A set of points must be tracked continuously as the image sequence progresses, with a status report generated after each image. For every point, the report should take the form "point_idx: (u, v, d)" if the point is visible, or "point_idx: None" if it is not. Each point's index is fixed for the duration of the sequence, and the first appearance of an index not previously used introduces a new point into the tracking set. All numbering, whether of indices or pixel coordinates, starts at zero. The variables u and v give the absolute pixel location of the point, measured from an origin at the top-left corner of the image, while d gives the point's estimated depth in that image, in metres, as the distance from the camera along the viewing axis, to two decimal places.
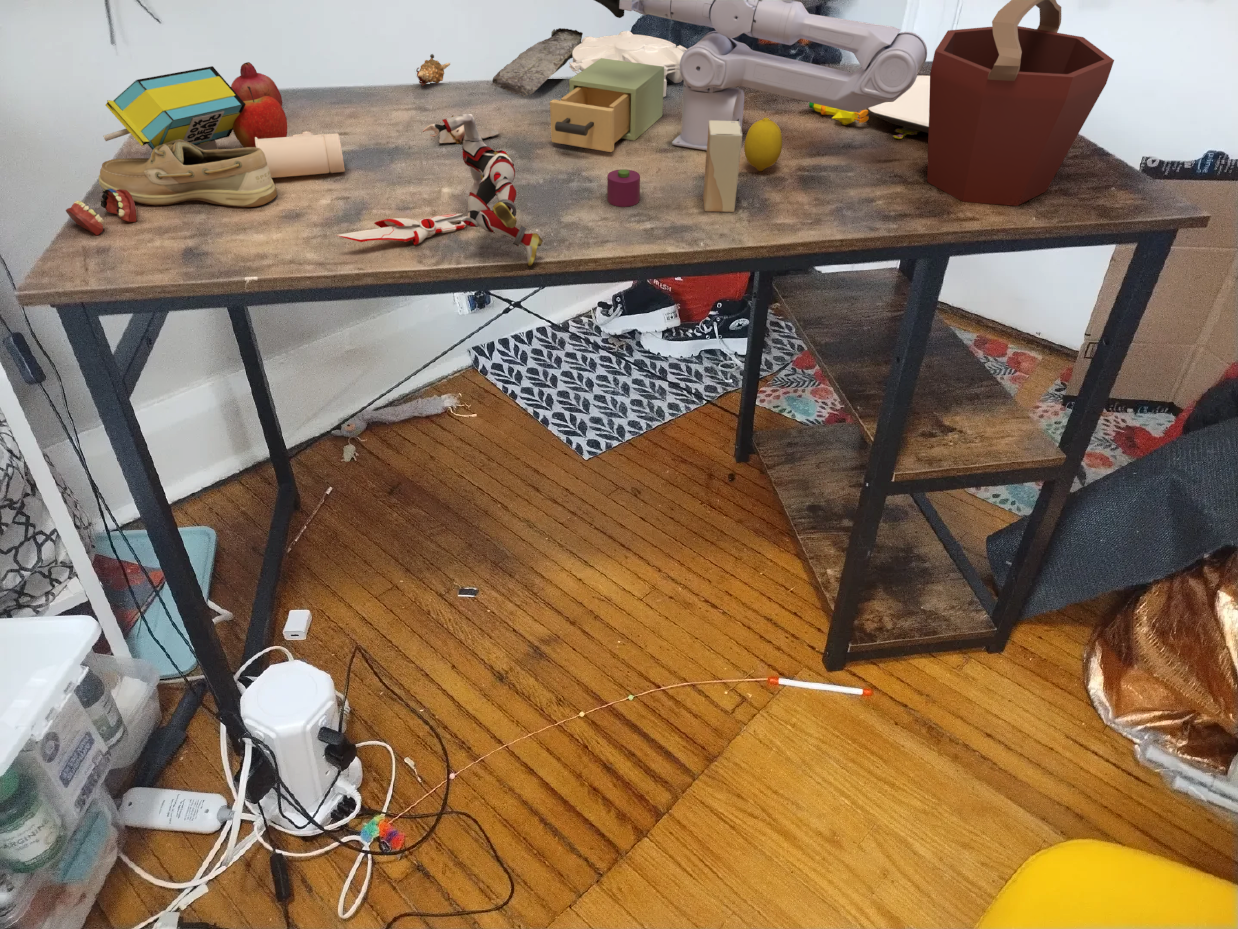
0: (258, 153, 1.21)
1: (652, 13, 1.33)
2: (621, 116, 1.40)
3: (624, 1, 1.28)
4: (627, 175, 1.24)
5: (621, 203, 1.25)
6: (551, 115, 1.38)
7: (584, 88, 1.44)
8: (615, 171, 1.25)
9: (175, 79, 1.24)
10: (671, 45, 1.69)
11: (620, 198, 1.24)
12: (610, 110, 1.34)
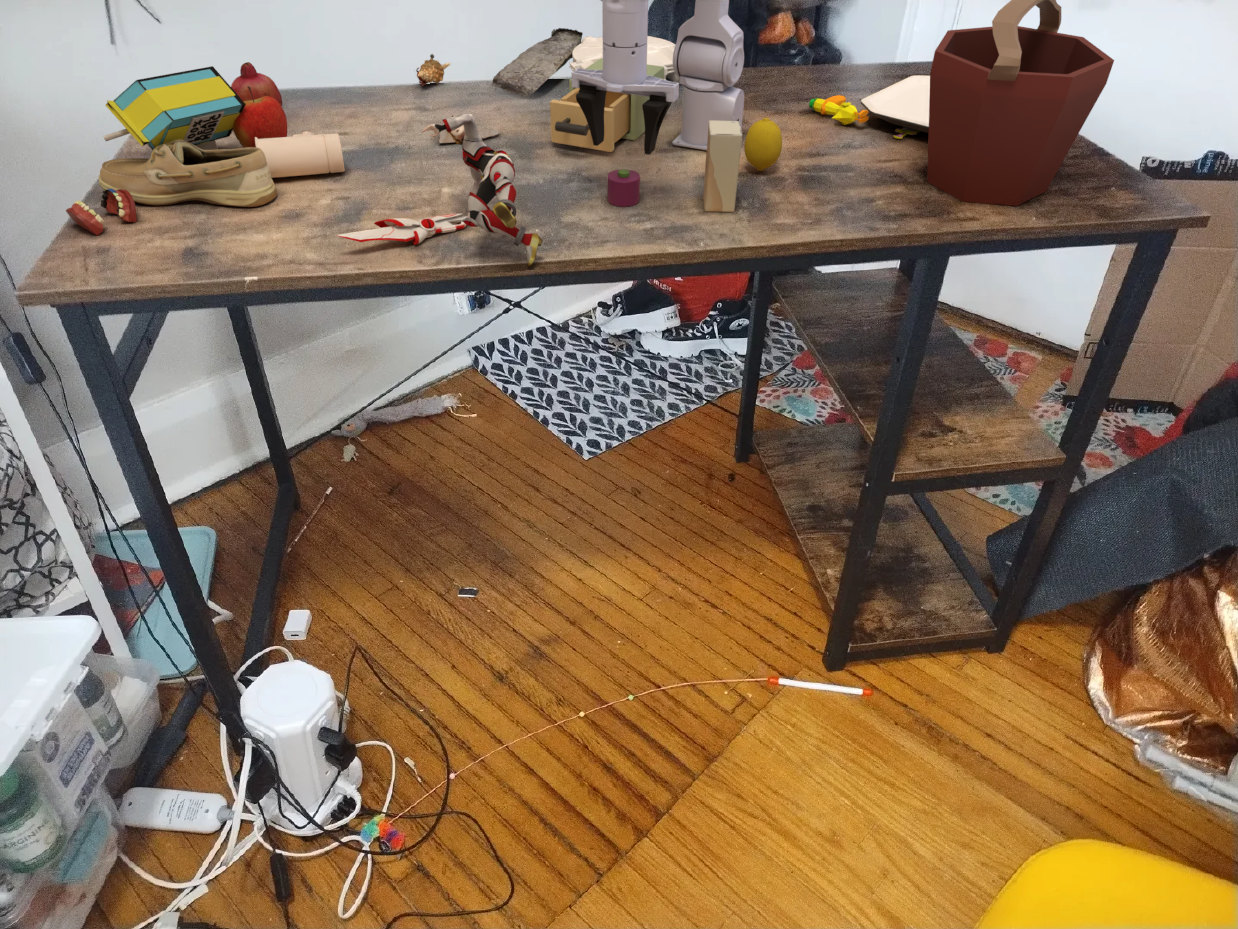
0: (258, 153, 1.21)
1: None
2: (621, 116, 1.40)
3: (676, 94, 1.14)
4: (627, 175, 1.24)
5: (621, 203, 1.25)
6: (551, 115, 1.38)
7: None
8: (615, 171, 1.25)
9: (175, 79, 1.24)
10: (671, 45, 1.69)
11: (620, 198, 1.24)
12: (610, 110, 1.34)
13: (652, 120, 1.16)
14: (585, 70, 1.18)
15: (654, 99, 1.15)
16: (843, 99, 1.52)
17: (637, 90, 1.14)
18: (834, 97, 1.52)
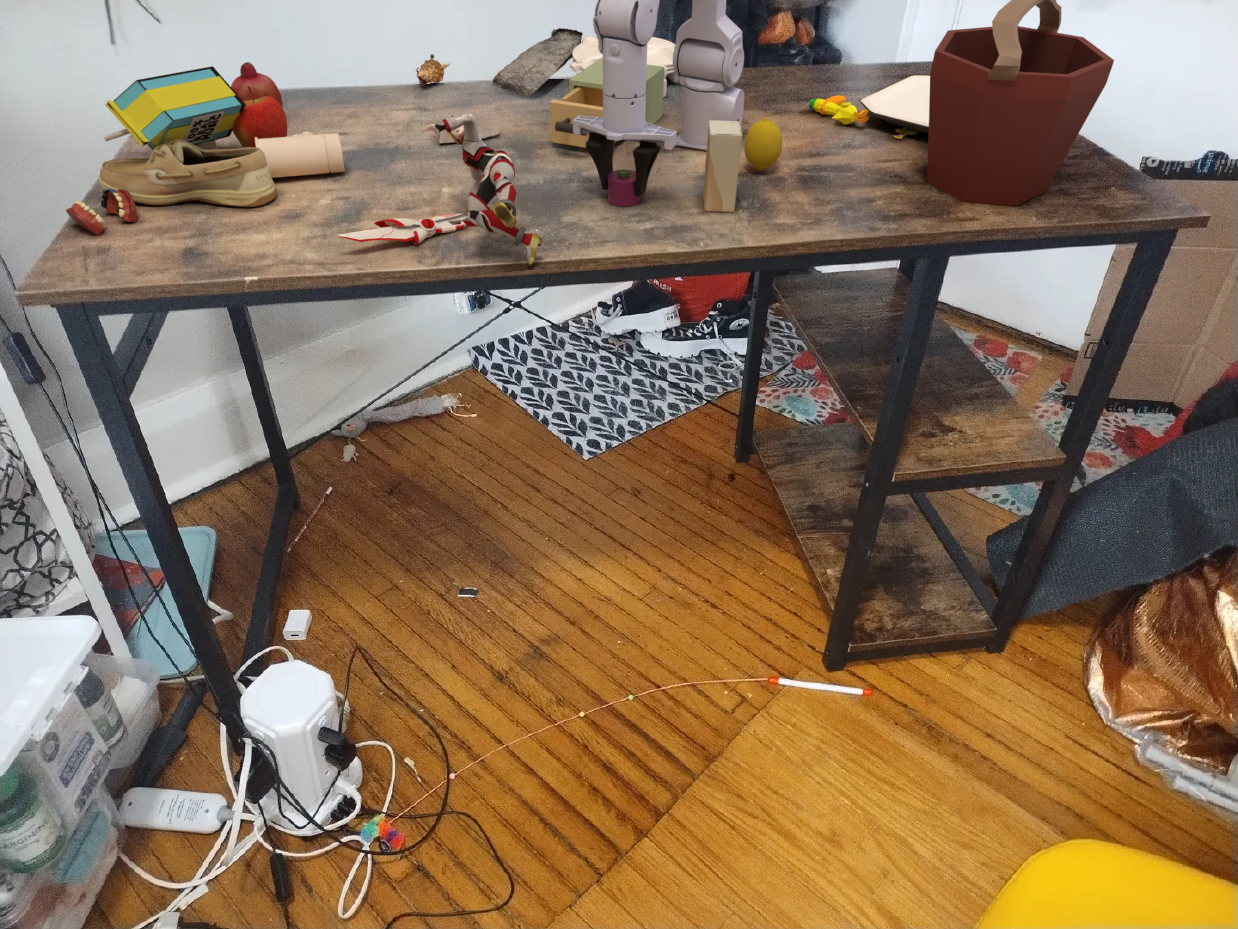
0: (258, 153, 1.21)
1: None
2: None
3: (673, 141, 1.18)
4: (627, 175, 1.24)
5: (621, 203, 1.25)
6: (551, 115, 1.38)
7: (584, 88, 1.44)
8: (616, 171, 1.25)
9: (175, 79, 1.24)
10: (671, 45, 1.69)
11: (620, 198, 1.24)
12: None
13: (642, 165, 1.20)
14: (586, 117, 1.22)
15: (644, 145, 1.19)
16: (843, 99, 1.52)
17: (636, 138, 1.18)
18: (834, 97, 1.52)
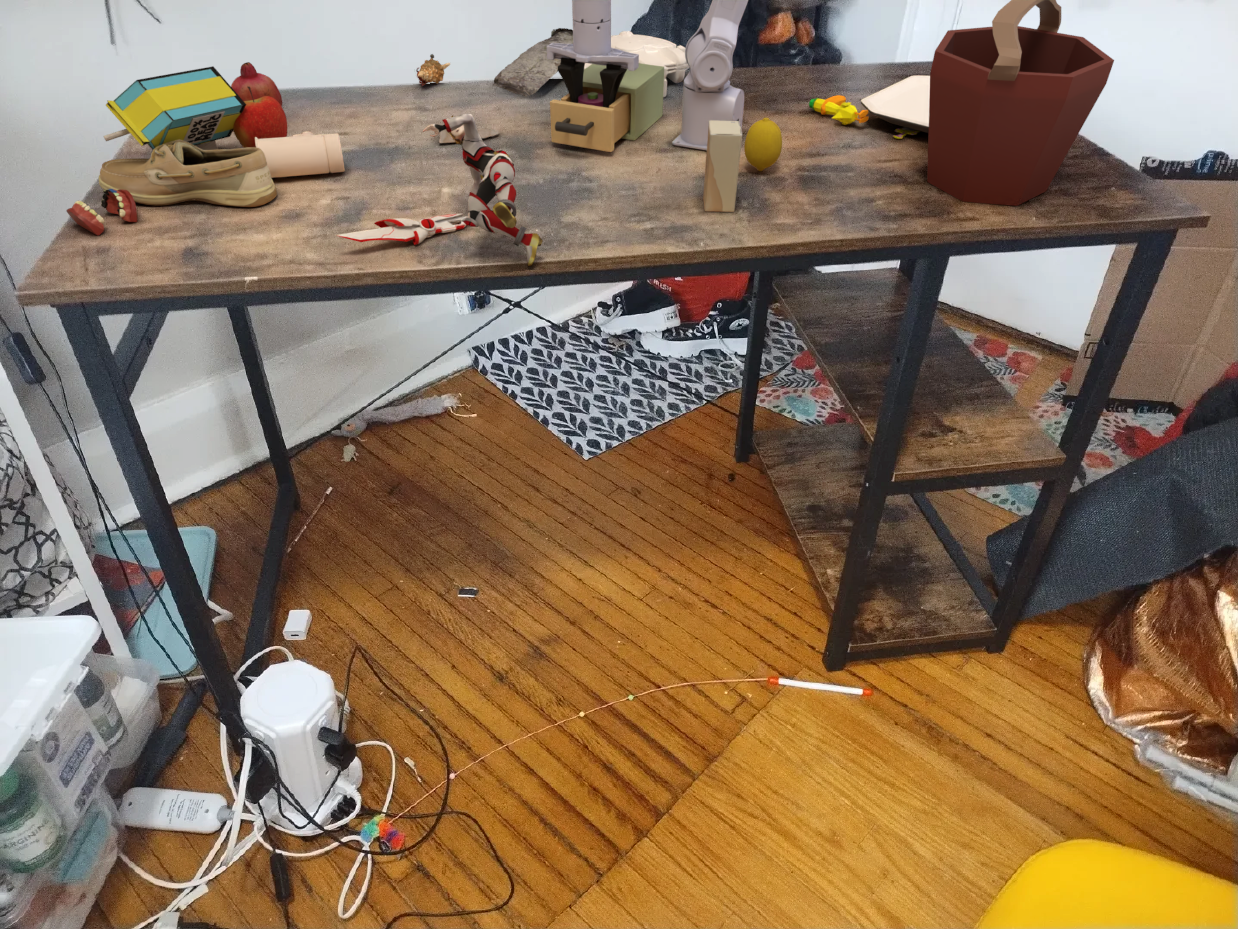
0: (258, 153, 1.21)
1: None
2: (621, 116, 1.40)
3: (636, 63, 1.33)
4: (596, 97, 1.38)
5: None
6: (551, 115, 1.38)
7: (584, 88, 1.44)
8: (586, 94, 1.40)
9: (175, 79, 1.24)
10: (671, 45, 1.69)
11: None
12: (610, 110, 1.34)
13: (609, 85, 1.34)
14: (558, 44, 1.37)
15: (610, 67, 1.34)
16: (843, 99, 1.52)
17: (602, 60, 1.32)
18: (834, 97, 1.52)
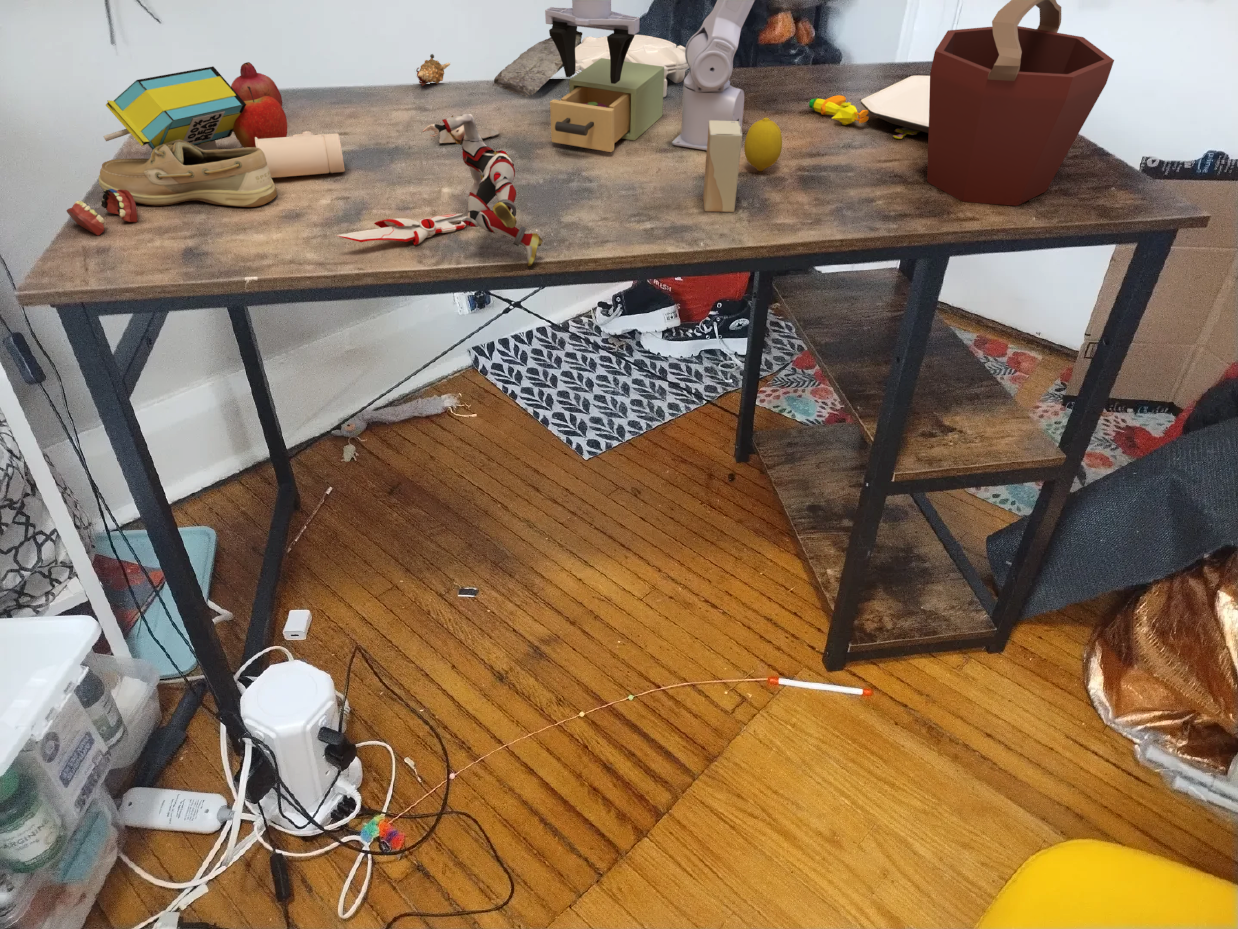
0: (258, 153, 1.21)
1: None
2: (621, 116, 1.40)
3: (636, 27, 1.29)
4: None
5: None
6: (551, 115, 1.38)
7: (584, 88, 1.44)
8: (586, 104, 1.41)
9: (175, 79, 1.24)
10: (671, 45, 1.69)
11: None
12: (610, 110, 1.34)
13: (616, 51, 1.31)
14: (557, 8, 1.33)
15: (618, 32, 1.30)
16: (843, 99, 1.52)
17: (602, 24, 1.29)
18: (834, 97, 1.52)
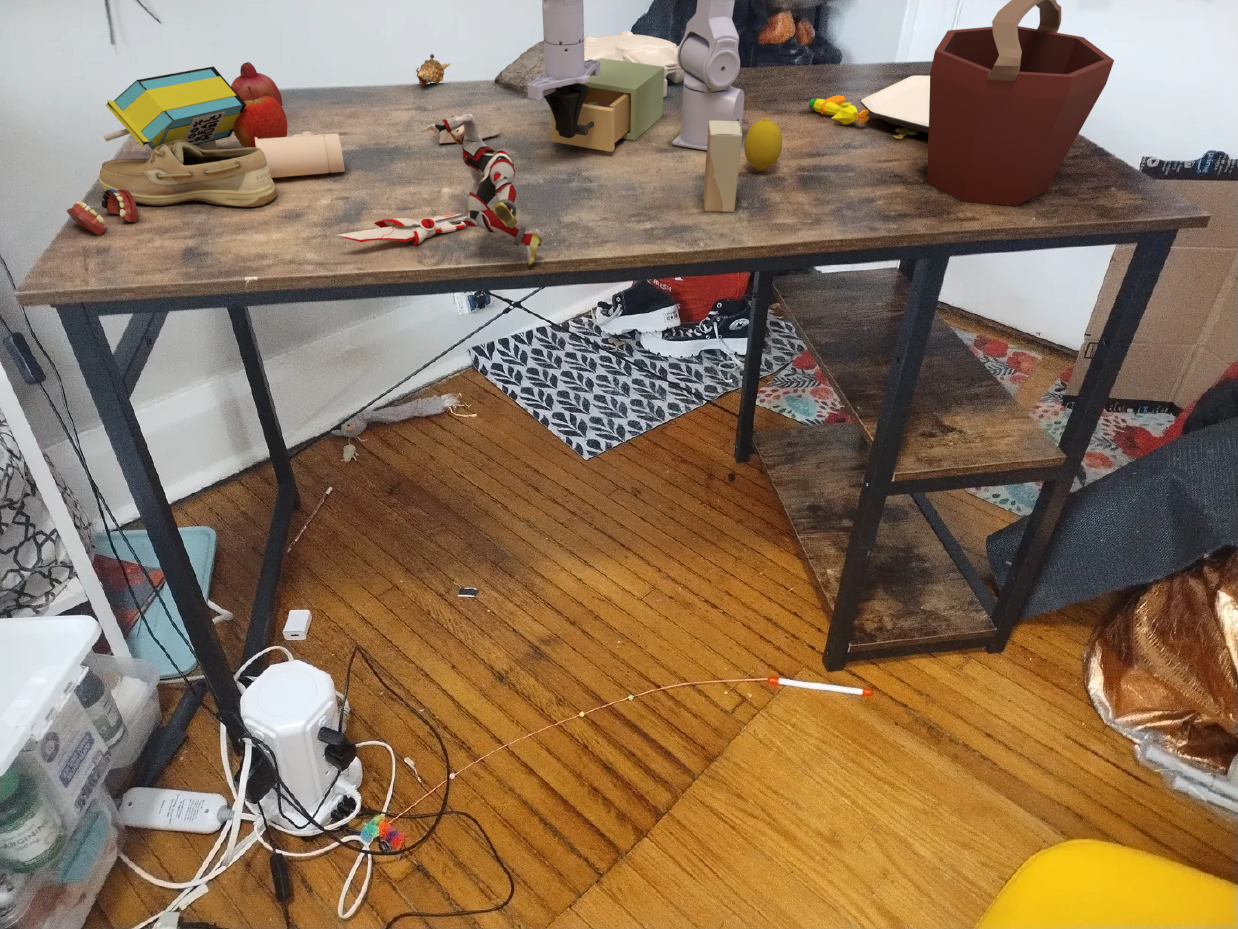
0: (258, 153, 1.21)
1: None
2: (622, 116, 1.40)
3: None
4: None
5: None
6: (551, 115, 1.38)
7: None
8: None
9: (175, 79, 1.24)
10: (672, 45, 1.69)
11: None
12: (610, 110, 1.34)
13: (582, 102, 1.31)
14: (533, 82, 1.25)
15: (575, 85, 1.29)
16: (843, 99, 1.52)
17: (588, 74, 1.29)
18: (834, 97, 1.52)
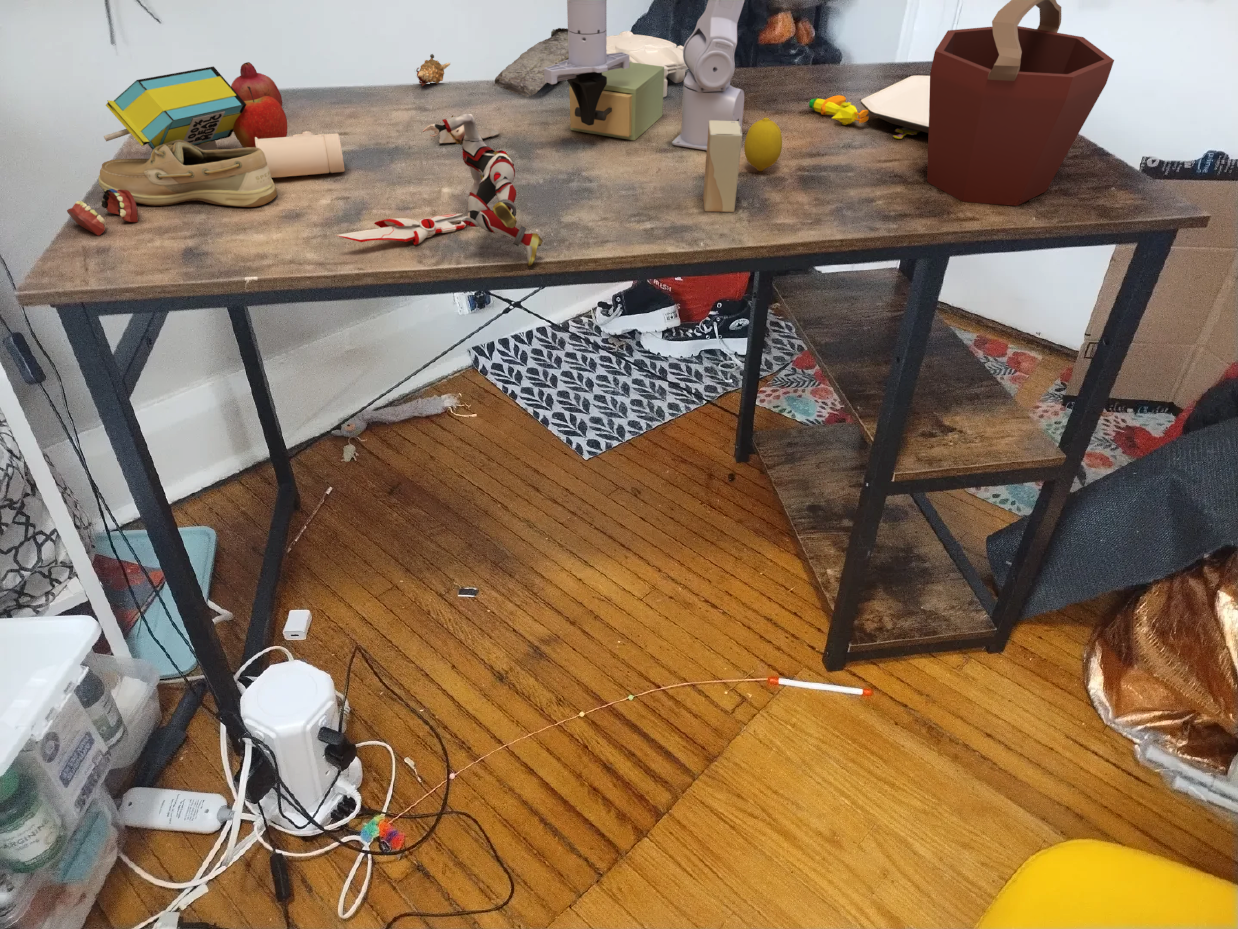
0: (258, 153, 1.21)
1: None
2: None
3: None
4: None
5: None
6: (570, 101, 1.43)
7: None
8: (603, 90, 1.46)
9: (175, 79, 1.24)
10: (672, 45, 1.69)
11: None
12: (628, 96, 1.39)
13: (599, 92, 1.35)
14: (550, 67, 1.31)
15: (594, 75, 1.34)
16: (843, 99, 1.52)
17: (611, 65, 1.34)
18: (834, 97, 1.52)
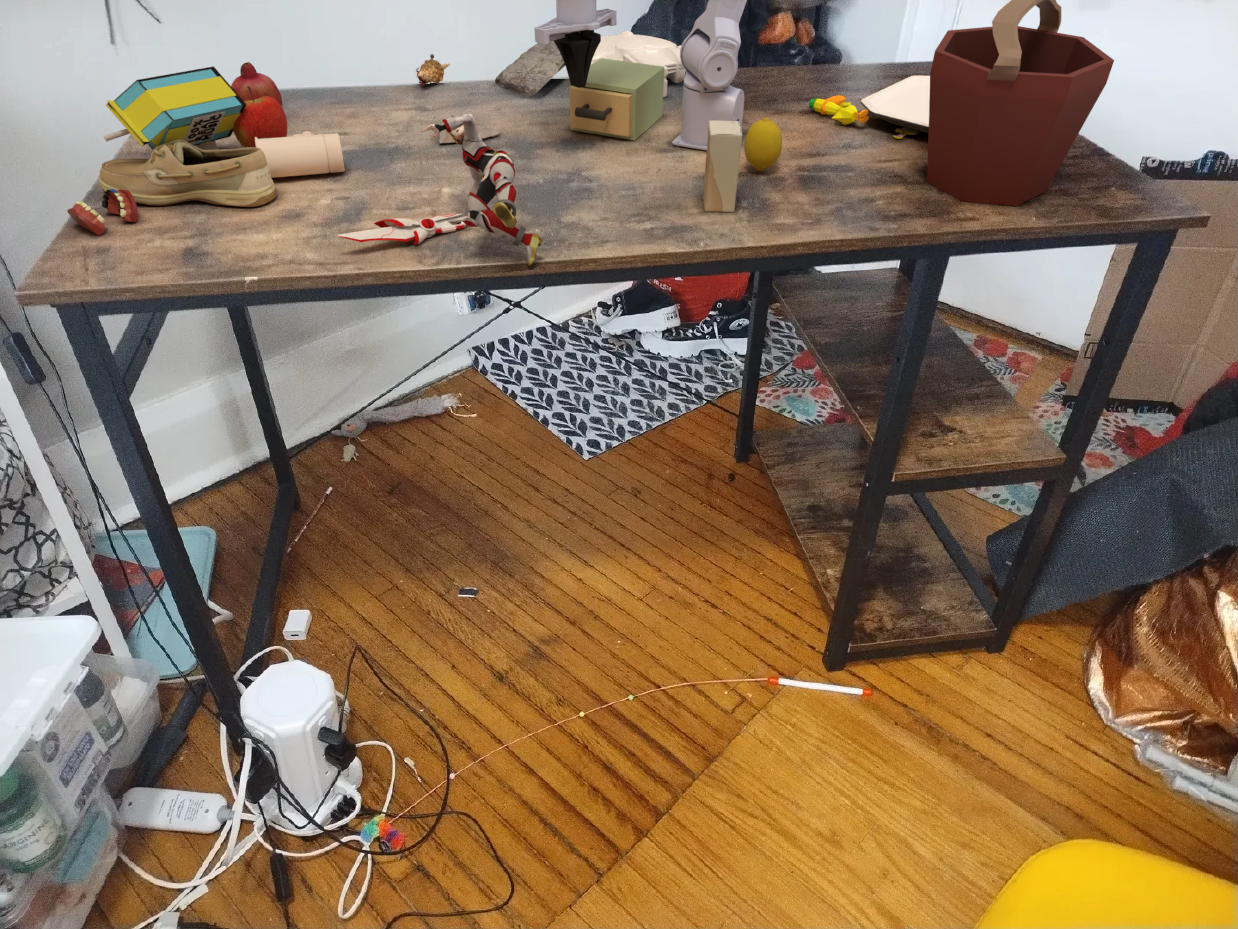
0: (258, 153, 1.21)
1: None
2: None
3: None
4: None
5: None
6: (570, 101, 1.43)
7: None
8: (603, 90, 1.46)
9: (176, 79, 1.24)
10: (672, 45, 1.69)
11: None
12: (628, 96, 1.39)
13: (593, 50, 1.29)
14: (541, 26, 1.24)
15: (587, 32, 1.28)
16: (843, 99, 1.52)
17: (601, 23, 1.28)
18: (834, 97, 1.52)
